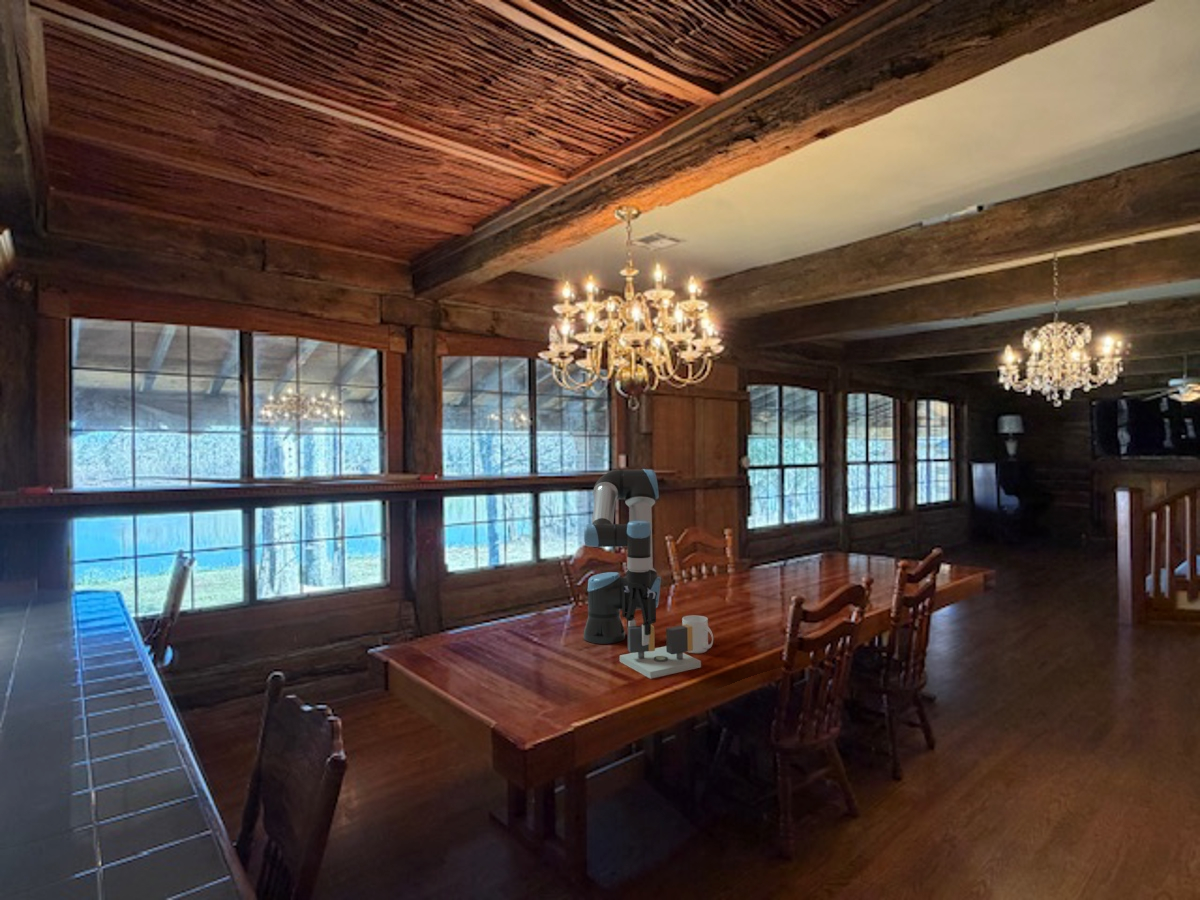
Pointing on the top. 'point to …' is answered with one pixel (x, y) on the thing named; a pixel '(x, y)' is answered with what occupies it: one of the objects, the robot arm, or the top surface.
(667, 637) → the knob
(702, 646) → the mug
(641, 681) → the top surface
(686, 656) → the base plate
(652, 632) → the knob
